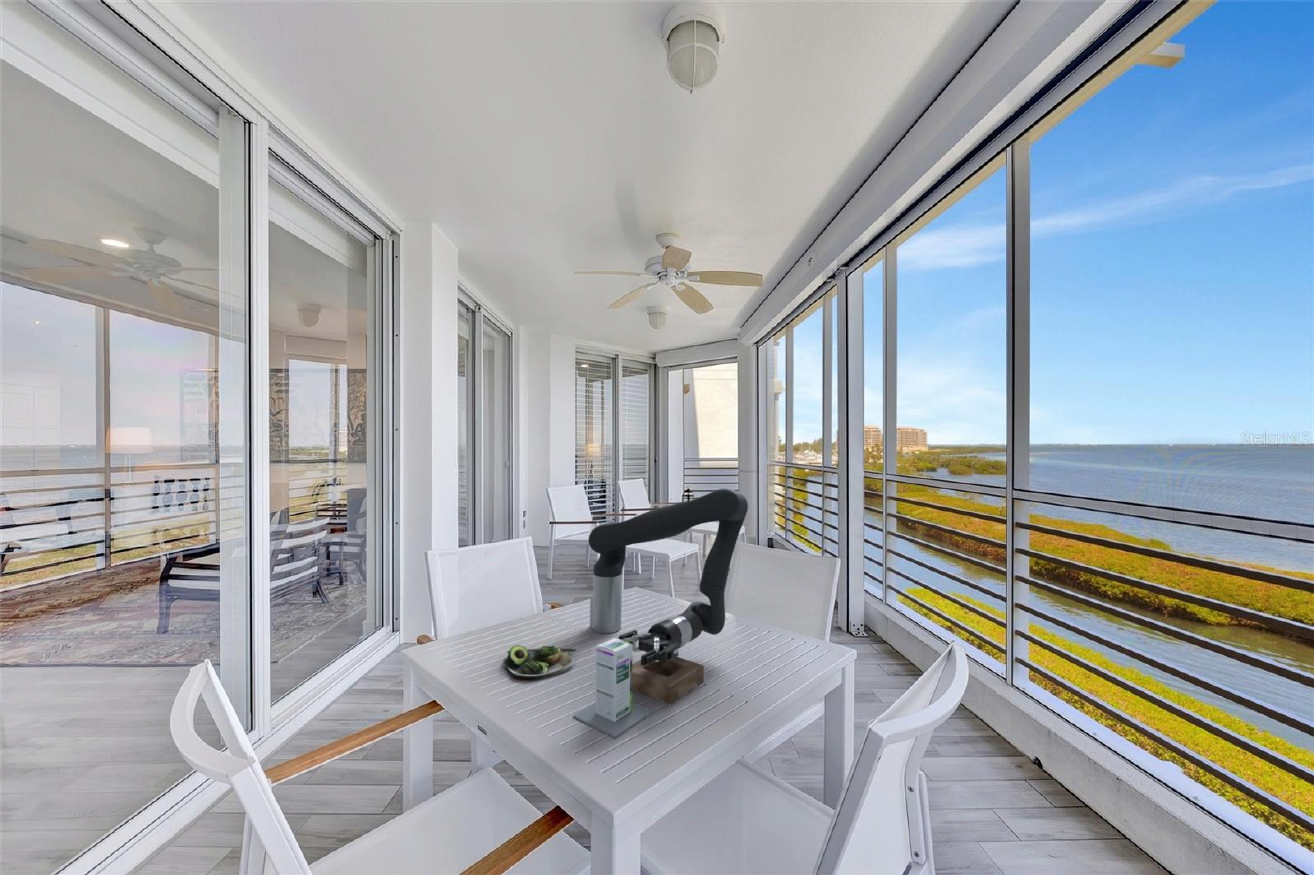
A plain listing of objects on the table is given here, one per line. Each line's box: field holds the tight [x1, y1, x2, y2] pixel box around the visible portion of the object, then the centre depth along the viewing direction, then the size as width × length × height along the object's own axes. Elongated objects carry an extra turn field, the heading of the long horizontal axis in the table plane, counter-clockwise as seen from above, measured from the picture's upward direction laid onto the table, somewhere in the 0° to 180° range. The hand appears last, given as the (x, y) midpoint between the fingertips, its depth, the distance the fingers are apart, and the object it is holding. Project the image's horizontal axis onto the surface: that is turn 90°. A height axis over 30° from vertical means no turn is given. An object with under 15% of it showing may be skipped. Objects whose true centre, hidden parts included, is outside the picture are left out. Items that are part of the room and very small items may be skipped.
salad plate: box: [502, 644, 577, 682], centre depth 127 cm, size 19×18×5 cm
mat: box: [572, 701, 654, 740], centre depth 102 cm, size 12×12×1 cm
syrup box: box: [595, 637, 634, 722], centre depth 103 cm, size 6×6×14 cm
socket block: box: [632, 656, 705, 705], centre depth 116 cm, size 14×14×4 cm
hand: (627, 655), depth 106 cm, fingers open, 8 cm apart
